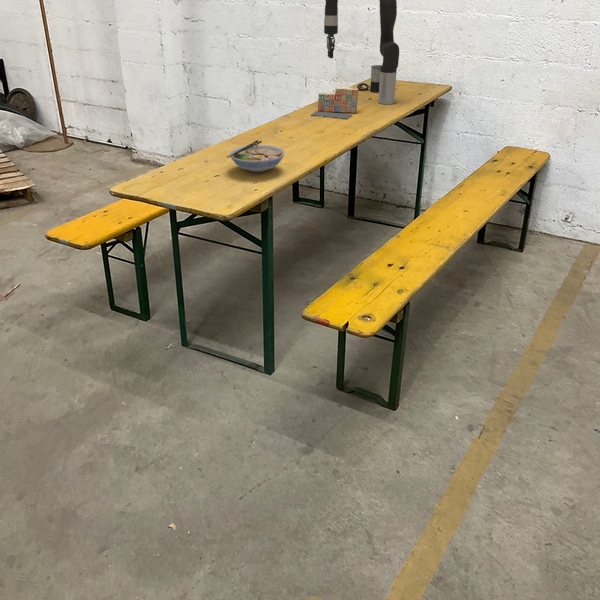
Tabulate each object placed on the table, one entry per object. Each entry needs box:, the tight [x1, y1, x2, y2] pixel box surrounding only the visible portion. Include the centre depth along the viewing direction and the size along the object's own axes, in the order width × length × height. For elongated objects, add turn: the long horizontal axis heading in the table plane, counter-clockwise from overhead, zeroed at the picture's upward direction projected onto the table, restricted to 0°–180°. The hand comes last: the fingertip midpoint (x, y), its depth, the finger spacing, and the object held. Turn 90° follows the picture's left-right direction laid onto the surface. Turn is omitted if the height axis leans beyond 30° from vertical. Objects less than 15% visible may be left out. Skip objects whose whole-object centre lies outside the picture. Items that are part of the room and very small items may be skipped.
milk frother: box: [356, 64, 382, 93], centre depth 387 cm, size 14×16×15 cm
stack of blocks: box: [317, 86, 359, 114], centre depth 340 cm, size 21×6×12 cm, turn 84°
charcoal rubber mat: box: [310, 110, 354, 120], centre depth 335 cm, size 9×21×1 cm, turn 67°
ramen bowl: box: [226, 139, 286, 174], centre depth 256 cm, size 25×23×8 cm
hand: (330, 57), depth 348 cm, fingers open, 4 cm apart
